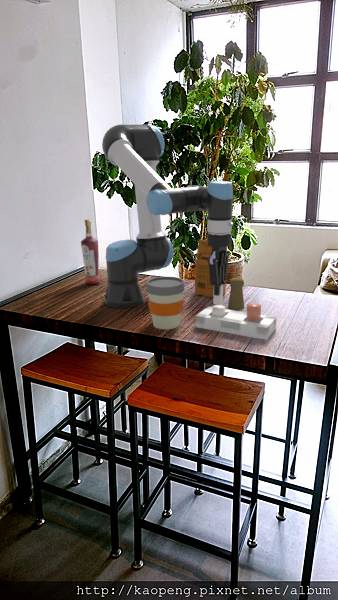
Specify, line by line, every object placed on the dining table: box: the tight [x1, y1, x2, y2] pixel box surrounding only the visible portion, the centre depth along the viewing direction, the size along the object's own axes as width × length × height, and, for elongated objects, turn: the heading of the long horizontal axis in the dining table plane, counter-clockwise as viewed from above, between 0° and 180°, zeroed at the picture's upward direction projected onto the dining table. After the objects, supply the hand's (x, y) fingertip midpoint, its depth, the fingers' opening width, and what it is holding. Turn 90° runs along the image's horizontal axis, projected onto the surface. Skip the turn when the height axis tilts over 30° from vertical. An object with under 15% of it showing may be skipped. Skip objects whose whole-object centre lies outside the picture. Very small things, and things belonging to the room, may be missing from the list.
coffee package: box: [194, 238, 227, 298], centre depth 179 cm, size 10×12×22 cm
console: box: [195, 305, 277, 340], centre depth 148 cm, size 24×10×4 cm, turn 61°
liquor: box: [80, 218, 101, 286], centre depth 196 cm, size 7×7×28 cm
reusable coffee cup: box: [146, 276, 186, 330], centre depth 150 cm, size 13×13×15 cm
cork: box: [227, 277, 245, 311], centre depth 165 cm, size 6×6×11 cm
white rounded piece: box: [211, 304, 226, 318], centre depth 150 cm, size 4×4×4 cm
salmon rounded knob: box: [246, 302, 262, 321], centre depth 143 cm, size 4×4×4 cm
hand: (218, 303), depth 149 cm, fingers closed
